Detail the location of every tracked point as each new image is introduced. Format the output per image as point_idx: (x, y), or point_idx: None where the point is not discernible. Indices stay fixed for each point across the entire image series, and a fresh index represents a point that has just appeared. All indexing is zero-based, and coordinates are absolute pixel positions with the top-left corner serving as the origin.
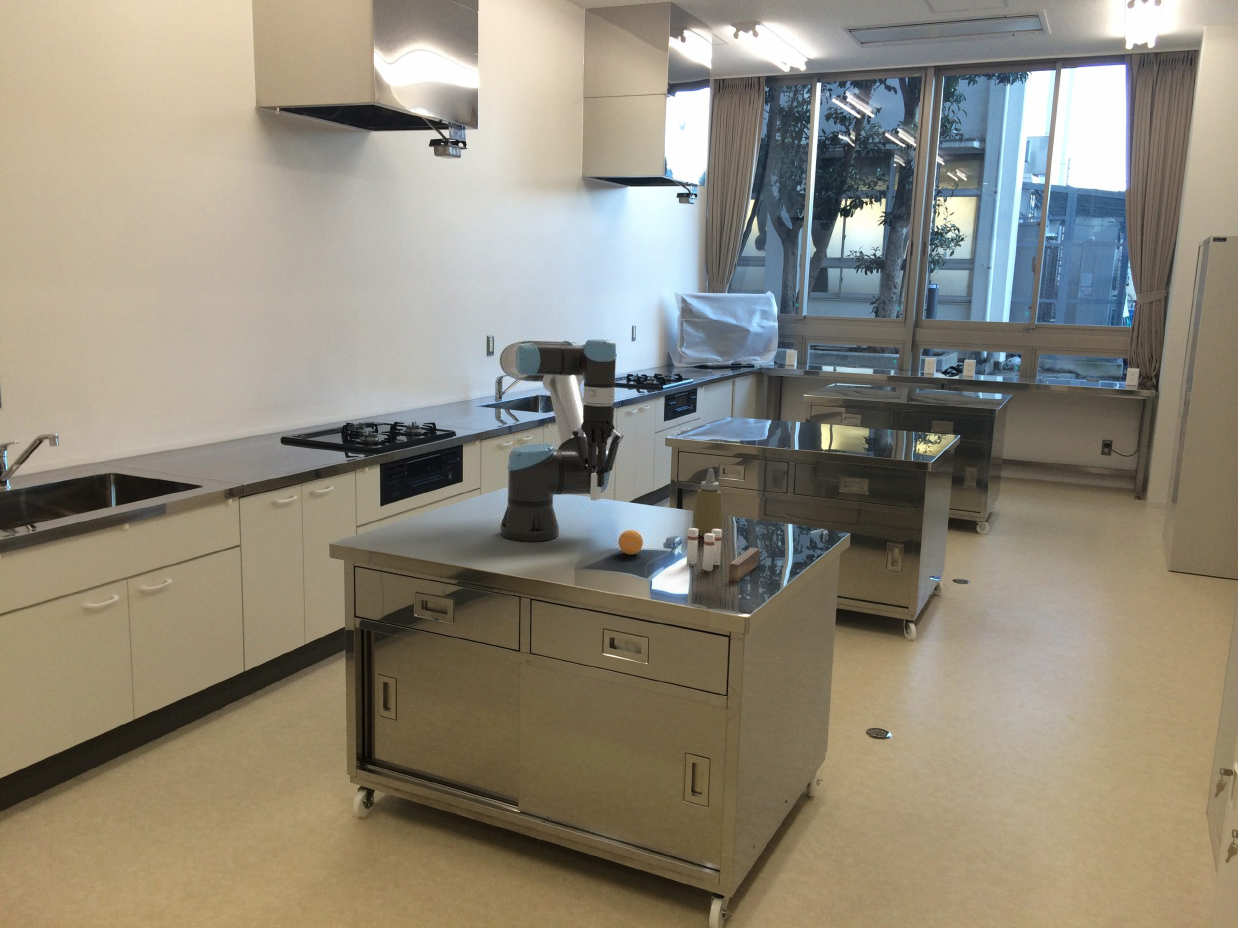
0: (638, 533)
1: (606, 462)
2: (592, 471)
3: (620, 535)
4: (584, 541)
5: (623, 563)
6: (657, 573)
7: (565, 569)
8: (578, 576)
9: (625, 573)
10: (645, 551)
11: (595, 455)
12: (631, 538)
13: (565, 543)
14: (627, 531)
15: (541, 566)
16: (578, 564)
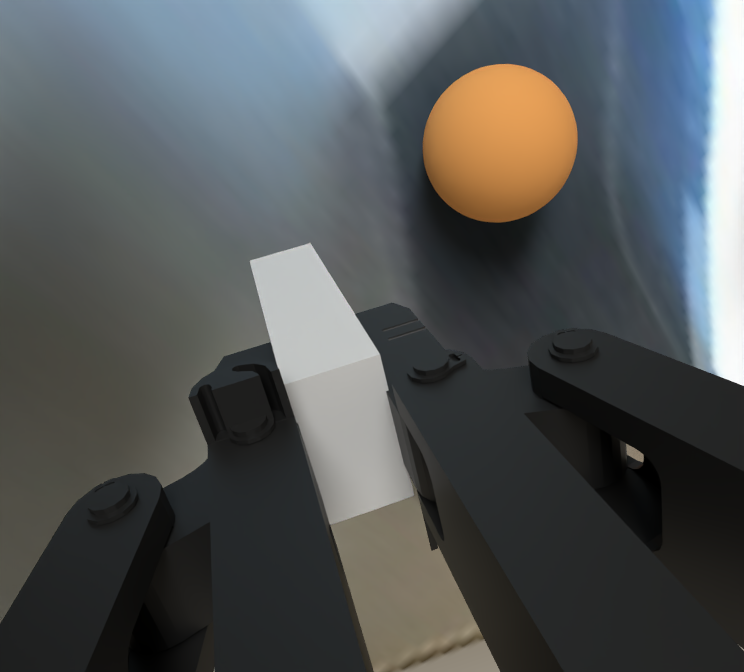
0: (569, 129)
1: (676, 576)
2: (325, 514)
3: (458, 187)
4: (86, 114)
5: (529, 293)
6: (704, 294)
7: (398, 529)
8: None
9: None
10: (502, 17)
11: (368, 670)
12: (549, 200)
13: (50, 245)
14: (518, 181)
15: None
16: None
